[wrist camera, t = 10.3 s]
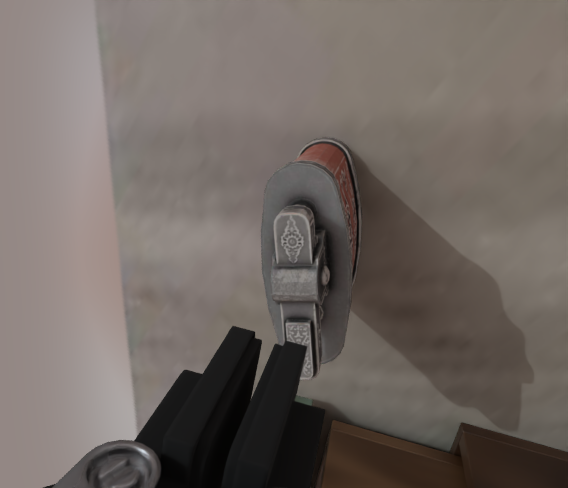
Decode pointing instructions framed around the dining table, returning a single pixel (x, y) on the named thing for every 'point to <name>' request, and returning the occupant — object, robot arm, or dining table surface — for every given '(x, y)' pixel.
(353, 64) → the dining table surface
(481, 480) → the cabinet
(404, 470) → the drawer
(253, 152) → the dining table surface
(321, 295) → the lighter
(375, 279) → the dining table surface
